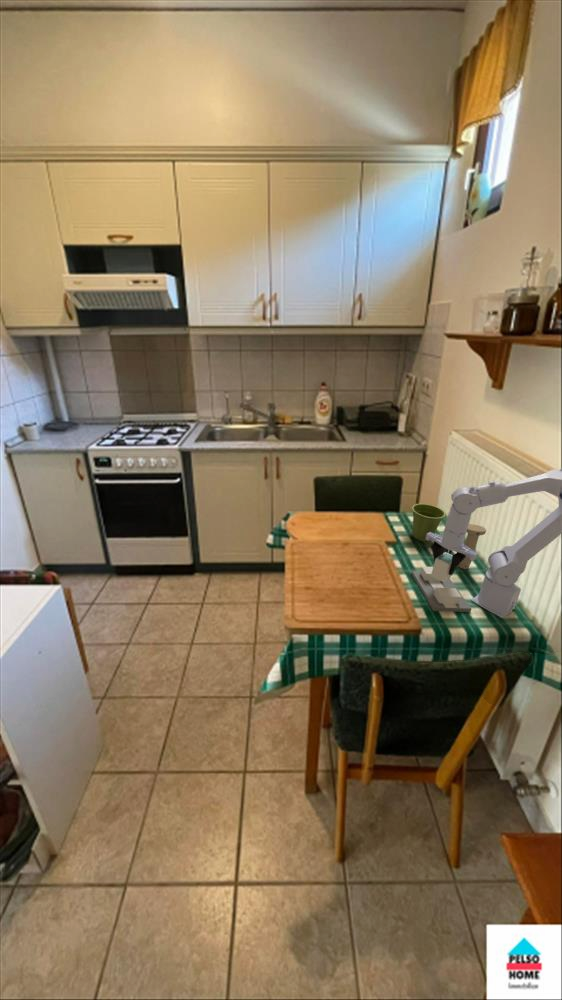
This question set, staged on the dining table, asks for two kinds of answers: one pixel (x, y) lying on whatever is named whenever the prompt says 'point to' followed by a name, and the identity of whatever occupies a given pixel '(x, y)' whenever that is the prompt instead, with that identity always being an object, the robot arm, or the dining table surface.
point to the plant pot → (425, 520)
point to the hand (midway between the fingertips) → (443, 570)
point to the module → (442, 567)
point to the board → (432, 598)
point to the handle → (471, 542)
